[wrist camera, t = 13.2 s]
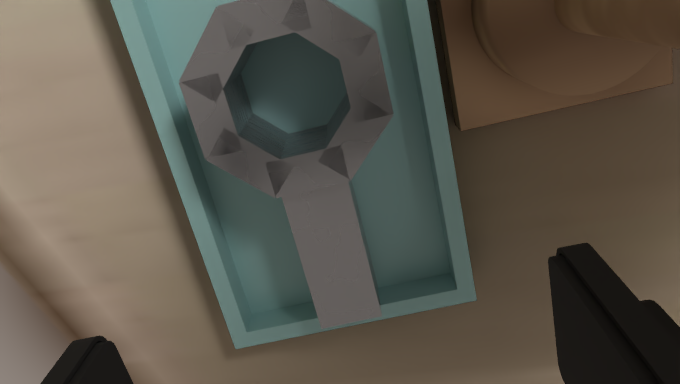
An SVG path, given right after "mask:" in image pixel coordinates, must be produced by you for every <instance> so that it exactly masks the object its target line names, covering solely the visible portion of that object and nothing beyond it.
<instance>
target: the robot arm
mask: <svg viewBox="0 0 680 384" xmlns="http://www.w3.org/2000/svg"><path fill="white" fill-rule="evenodd" d="M548 266H549V276H550V286H551V296H552V306H553V316H554V326H555V336H556V346H557V356H558V365H559V369H560V373H561V376H562V378H563V381H564V383H565V384H680V327H679V326H678V325H677V324H676V323H675V322H674V321H673V320H672V319H671V317H670V316H669V315H668V314H667V313H666V312H665V311H664V310H663V309H662V308H661V307H660V306H659V305H658V304H657V303H656V302H654V301H652V300H644V301H639V300H638V299H637V297H636V296H635V295H634V294H633V293H632V292H631V291H630V289H629V288H628V287H627V286H626V285H625V284H624V283H623V282H622V280H621V279H620V278H619V277H618V276H617V275H616V274H615V272H614V271H613V270H612V269H611V268H610V267H609V266H608V265H607V263H606V262H605V261H604V260H603V259H602V258H601V257H600V256H599V254H598V253H597V252H596V251H595V250H594V249H593V248H592V246H591V245H590V244H588V243H582V244H577V245H571V246H566V247H561V248H558V249H557V253H556V256H553V257H549V260H548ZM41 384H133V382H132V380H131V378H130V375H129V373H128V371H127V369H126V367H125V365H124V363H123V361H122V359H121V357H120V354H119V352H118V350H117V348H116V346H115V345H114V343H113V342H112V341H107V340H106V339H105V338H104V337H103V336H96V337H90V338H85V339H80V340H76V341H73V342H72V343H71V344H70V345H69V346H68V348H67V349H66V350H65V352H64V353H63V354H62V356H61V357H60V358H59V360H58V361H57V362H56V364H55V365H54V367H53V368H52V369H51V370H50V372H49V373H48V374H47V376H46V377H45V378H44V380H43V381H42V382H41Z"/></svg>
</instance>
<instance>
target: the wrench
mask: <svg viewBox="0 0 680 384" xmlns="http://www.w3.org/2000/svg"><path fill="white" fill-rule="evenodd" d="M295 32H296V33H297V34H299V35H300V36H302V37H304V38H305V39H307V40H309V41H310V42H312V43H313V44H315V45H317V46H318V47H320V48H321V49H323V50H325V51H326V52H328V53H329V54H331V55H333V56H334V57H336V58H338V59H339V60H340V65H341V69H342V73H343V77H344V81H345V86H346V90H347V93H346V95H345V96H344V98H343V99H342V101H341V103H340V104H339V106H338V108H337V109H336V111H335V113H334V114H333V116H332V117H331V119H330V121H329V122H328V124H327V125H322V126H318V127H314V128H310V129H306V130H302V131H298V132H293V133H289V134H288V133H287V132H285V131H283V130H281V129H280V128H278V127H276V126H274V125H273V124H271V123H269V122H268V121H266V120H264V119H262V118H261V117H259V116H257V115H255V114H254V113H253V111H252V108H251V104H250V101H249V98H248V95H247V91H246V88H245V85H244V81H243V78H242V75H241V72H242V71H243V69H244V67H245V65H246V63H247V61H248V59H249V58H250V56H251V54H252V52H253V50H254V48H255V46H256V44H257V43H258V42H260V41H264V40H268V39H272V38H275V37H279V36H283V35H287V34H291V33H295ZM179 85H180V88H181V91H182V94H183V97H184V100H185V103H186V105H187V108H188V111H189V114H190V117H191V120H192V123H193V126H194V129H195V132H196V134H197V137H198V140H199V143H200V146H201V149H202V152H203V155H204V158H205V159H207V160H206V161H208V162H210V163H212V164H213V165H215V166H217V167H219V168H221V169H222V170H224V171H226V172H228V173H230V174H232V175H233V176H235V177H237V178H239V179H241V180H242V181H244V182H246V183H248V184H250V185H252V186H253V187H255V188H257V189H259V190H261V191H262V192H264V193H266V194H268V195H270V196H272V197H273V198H275V197H276V198H280V197H282V200H283V203H284V207H285V210H286V213H287V217H288V220H289V223H290V227H291V230H292V233H293V237H294V240H295V243H296V246H297V250H298V253H299V256H300V260H301V263H302V266H303V270H304V273H305V276H306V280H307V283H308V286H309V290H310V293H311V296H312V299H313V303H314V306H315V309H316V313H317V316H318V319H319V323H320V326H321V329H324V328H329V327H334V326H338V325H343V324H348V323H352V322H357V321H362V320H366V319H371V318H376V317H381V316H382V312H381V305H380V298H379V292H378V285H377V280H376V276H375V272H374V268H373V264H372V260H371V256H370V252H369V248H368V244H367V240H366V236H365V232H364V228H363V224H362V220H361V216H360V212H359V208H358V204H357V200H356V196H355V192H354V188H353V184H352V178H353V177H354V175H355V174H356V172H357V171H358V169H359V168H360V166H361V164H362V163H363V161H364V160H365V158H366V157H367V155H368V154H369V152H370V151H371V149H372V148H373V146H374V144H375V143H376V141H377V140H378V138H379V137H380V135H381V134H382V132H383V131H384V129H385V128H386V126H387V124H388V123H389V121H390V120H391V118H392V117H393V114H394V113H393V108H392V104H391V99H390V94H389V90H388V85H387V80H386V75H385V71H384V66H383V61H382V56H381V52H380V47H379V42H378V38H377V33H376V31H375V30H374V29H373V28H371V27H370V26H369V25H368V24H367V23H365V22H363V21H362V20H360V19H359V18H357V17H356V16H354V15H353V14H351V13H349V12H348V11H346V10H345V9H343V8H342V7H340V6H339V5H337V4H335V3H334V2H332V1H331V0H238V1H234V2H230V3H226V4H222V5H219V6H217V7H216V8H215V10H214V12H213V14H212V16H211V18H210V20H209V22H208V24H207V26H206V28H205V30H204V32H203V34H202V36H201V38H200V40H199V42H198V44H197V46H196V48H195V50H194V52H193V54H192V56H191V58H190V60H189V62H188V64H187V66H186V68H185V70H184V72H183V74H182V76H181V78H180V80H179Z"/></svg>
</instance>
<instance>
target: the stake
mask: <svg viewBox="0 0 680 384" xmlns="http://www.w3.org/2000/svg"><path fill="white" fill-rule="evenodd" d="M436 6H437V12H438V19H439V25H440V31H441V37H442V43H443V50H444V56H445V62H446V68H447V75H448V81H449V87H450V93H451V100H452V106H453V112H454V118H455V124H456V126H457V127H458V128H459V129H460V130H461V131H464V130H468V129H473V128H477V127H481V126H486V125H490V124H495V123H499V122H504V121H508V120H512V119H517V118H521V117H526V116H530V115H535V114H539V113H543V112H548V111H552V110H557V109H561V108H566V107H570V106H575V105H579V104H583V103H588V102H592V101H597V100H601V99H606V98H610V97H614V96H619V95H623V94H628V93H632V92H637V91H641V90H646V89H650V88H654V87H659V86H663V85H668V84H672V83H673V69H672V48H675V49H680V0H436Z"/></svg>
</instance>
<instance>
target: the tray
mask: <svg viewBox="0 0 680 384" xmlns="http://www.w3.org/2000/svg"><path fill="white" fill-rule="evenodd" d="M110 1H111V4H112V7H113V10H114V12H115V15H116V18H117V21H118V23H119V26H120V29H121V32H122V35H123V37H124V40H125V43H126V46H127V49H128V51H129V54H130V57H131V60H132V62H133V65H134V68H135V71H136V74H137V76H138V79H139V82H140V85H141V87H142V90H143V93H144V96H145V99H146V101H147V104H148V107H149V110H150V113H151V115H152V118H153V121H154V124H155V126H156V129H157V132H158V135H159V138H160V140H161V143H162V146H163V149H164V152H165V154H166V157H167V160H168V163H169V165H170V168H171V171H172V174H173V177H174V179H175V182H176V185H177V188H178V190H179V193H180V196H181V199H182V202H183V204H184V207H185V210H186V213H187V216H188V218H189V221H190V224H191V227H192V229H193V232H194V235H195V238H196V241H197V243H198V246H199V249H200V252H201V255H202V257H203V260H204V263H205V266H206V268H207V271H208V274H209V277H210V280H211V282H212V285H213V288H214V291H215V293H216V296H217V299H218V302H219V305H220V307H221V310H222V313H223V316H224V319H225V321H226V324H227V327H228V330H229V332H230V335H231V338H232V341H233V344H234V346H235V349H239V348H244V347H249V346H254V345H259V344H264V343H269V342H274V341H279V340H284V339H289V338H294V337H299V336H304V335H309V334H314V333H318V332H323V331H328V330H333V329H338V328H343V327H348V326H353V325H358V324H363V323H368V322H373V321H378V320H383V319H388V318H392V317H397V316H402V315H407V314H412V313H417V312H422V311H427V310H432V309H437V308H442V307H447V306H452V305H457V304H462V303H467V302H471V301H476V300H477V298H476V292H475V286H474V280H473V274H472V268H471V262H470V256H469V250H468V244H467V238H466V232H465V226H464V220H463V214H462V208H461V202H460V196H459V190H458V184H457V178H456V172H455V166H454V160H453V154H452V148H451V142H450V135H449V129H448V123H447V117H446V111H445V105H444V99H443V93H442V87H441V81H440V75H439V69H438V63H437V57H436V51H435V45H434V39H433V33H432V27H431V21H430V15H429V9H428V3H427V0H331V1H332V2H334V3H335V4H337V5H339V6H340V7H342V8H343V9H345V10H346V11H348V12H349V13H351V14H353V15H354V16H356V17H357V18H359V19H360V20H362V21H363V22H365V23H367V24H368V25H369V26H370V27H371V28H373V29H374V30H375V31H376V33H377V38H378V42H379V47H380V52H381V56H382V61H383V66H384V71H385V75H386V80H387V85H388V90H389V94H390V99H391V104H392V108H393V113H394V114H393V117H392V118H391V120H390V121H389V123H388V124H387V126H386V128H385V129H384V131H383V132H382V134H381V135H380V137H379V138H378V140H377V141H376V143H375V144H374V146H373V148H372V149H371V151H370V152H369V154H368V155H367V157H366V158H365V160H364V161H363V163H362V164H361V166H360V168H359V169H358V171H357V172H356V174H355V175H354V177H353V178H352V184H353V188H354V192H355V196H356V200H357V204H358V208H359V212H360V216H361V220H362V224H363V228H364V232H365V236H366V240H367V244H368V248H369V252H370V256H371V260H372V264H373V268H374V272H375V276H376V280H377V285H378V292H379V298H380V305H381V312H382V316H381V317H376V318H371V319H366V320H362V321H357V322H352V323H348V324H343V325H338V326H334V327H329V328H324V329H321V326H320V323H319V319H318V316H317V313H316V309H315V306H314V303H313V299H312V296H311V293H310V290H309V286H308V283H307V280H306V276H305V273H304V270H303V266H302V263H301V260H300V256H299V253H298V250H297V246H296V243H295V240H294V237H293V233H292V230H291V227H290V223H289V220H288V217H287V213H286V210H285V207H284V203H283V200H282V197H280V198H276V197H275V198H273V197H272V196H270V195H268V194H266V193H264V192H262V191H261V190H259V189H257V188H255V187H253V186H252V185H250V184H248V183H246V182H244V181H242V180H241V179H239V178H237V177H235V176H233V175H232V174H230V173H228V172H226V171H224V170H222V169H221V168H219V167H217V166H215V165H213V164H212V163H210V162H208V161H206V160H207V159H205V158H204V155H203V152H202V149H201V146H200V143H199V140H198V137H197V134H196V132H195V129H194V126H193V123H192V120H191V117H190V114H189V111H188V108H187V105H186V103H185V100H184V97H183V94H182V91H181V88H180V85H179V80H180V78H181V76H182V74H183V72H184V70H185V68H186V66H187V64H188V62H189V60H190V58H191V56H192V54H193V52H194V50H195V48H196V46H197V44H198V42H199V40H200V38H201V36H202V34H203V32H204V30H205V28H206V26H207V24H208V22H209V20H210V18H211V16H212V14H213V12H214V10H215V8H216V7H217V6H219V5H222V4H226V3H230V2H234V1H238V0H110ZM241 75H242V78H243V81H244V85H245V88H246V91H247V95H248V98H249V101H250V104H251V108H252V111H253V113H254V114H255V115H257V116H259V117H261V118H262V119H264V120H266V121H268V122H269V123H271V124H273V125H274V126H276V127H278V128H280V129H281V130H283V131H285V132H287V133H288V134H289V133H293V132H298V131H302V130H306V129H310V128H314V127H318V126H322V125H327V124H328V122H329V121H330V119H331V117H332V116H333V114H334V113H335V111H336V109H337V108H338V106H339V104H340V103H341V101H342V99H343V98H344V96H345V95H346V93H347V90H346V86H345V81H344V77H343V73H342V69H341V65H340V60H339V59H338V58H336V57H334V56H333V55H331V54H329V53H328V52H326V51H325V50H323V49H321V48H320V47H318V46H317V45H315V44H313V43H312V42H310V41H309V40H307V39H305V38H304V37H302V36H300V35H299V34H297V33H296V32H295V33H291V34H287V35H283V36H279V37H275V38H272V39H268V40H264V41H260V42H258V43H257V44H256V46H255V48H254V50H253V52H252V54H251V56H250V58H249V59H248V61H247V63H246V65H245V67H244V69H243V71H242V72H241Z"/></svg>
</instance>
